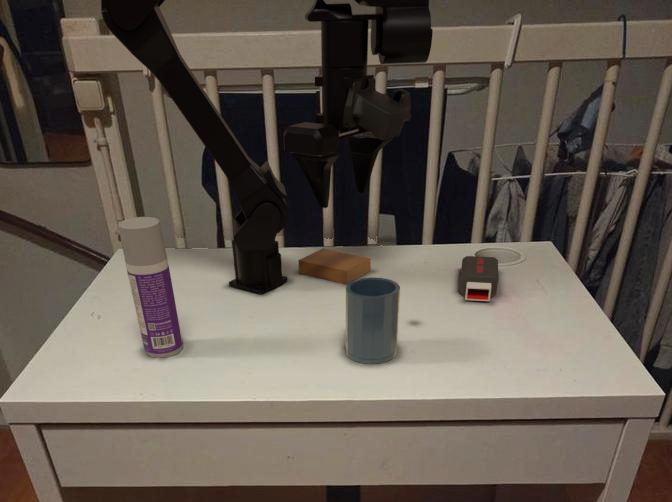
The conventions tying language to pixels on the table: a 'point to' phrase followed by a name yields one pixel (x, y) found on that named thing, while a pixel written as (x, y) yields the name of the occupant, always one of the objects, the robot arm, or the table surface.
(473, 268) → the usb drive
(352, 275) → the wooden block
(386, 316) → the cup
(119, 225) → the container
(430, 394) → the table surface
